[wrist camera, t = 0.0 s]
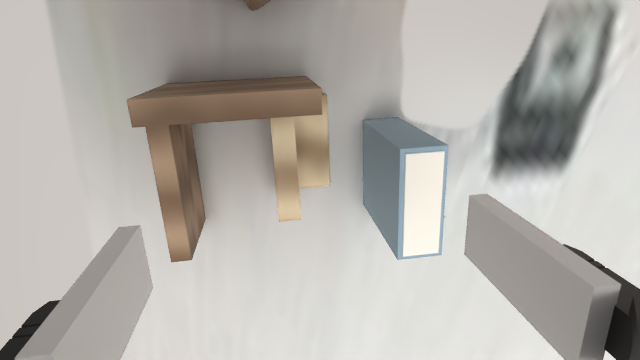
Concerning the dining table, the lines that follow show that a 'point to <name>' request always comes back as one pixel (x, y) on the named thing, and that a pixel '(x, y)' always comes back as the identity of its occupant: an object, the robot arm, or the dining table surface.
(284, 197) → the bookend
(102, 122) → the dining table surface
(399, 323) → the dining table surface
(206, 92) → the shelf corner
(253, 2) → the wooden block
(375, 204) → the book box
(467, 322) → the dining table surface
